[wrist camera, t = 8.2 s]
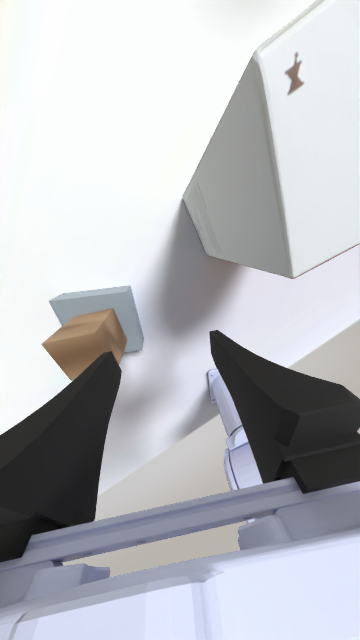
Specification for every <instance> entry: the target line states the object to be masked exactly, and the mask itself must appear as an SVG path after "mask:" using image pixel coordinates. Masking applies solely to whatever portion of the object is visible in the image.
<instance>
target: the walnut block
mask: <svg viewBox="0 0 360 640" xmlns="http://www.w3.org/2000/svg"><path fill="white" fill-rule="evenodd" d="M127 341H128V340H127V338H126V336H125V333H124V331H123V329H122V327H121V324H120V322H119V320H118V318H117V316H116V313H115V311H114V309H113V308H112V309H107V310H103V311H98V312H93V313H89V314H84V315H79V316H75V317H73V318H72V319H71V320H69V321H68V322H67V323H66V324H65V325H63V326H62V327H61V328H60V329H59V330H58V331H56V332H55V333H54V334H53V335H52V336H51V337H49V338H48V339H47V340H46V341H45V342H43V343H42V345H43V347H44V348H45V349H46V350H47V352H48V353H49V354H50V355H51V357H52V358H53V359H54V360H55V361H56V363H57V364H58V365H59V366H60V368H61V369H62V370H63V371H64V373H65V374H66V375H67V376H68V377H69V379H70V380H74V379H76V378H77V377H78V376H79V375H80V374H81V373H82V372H83V371H84V370H85V369H86V368H87V367H88V366H89V365H90V364H91V363H93V362H94V361H95V360H96V359H97V358H98V357H99V356H100V355H101V354H102V353H105V352H110V351H112V353H113V355H114V357H115V359H116V361H117V363H118V365H119V363H120V360H121V357H122V354H123V352H124V349H125V346H126V343H127Z"/></svg>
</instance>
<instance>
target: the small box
mask: <svg viewBox="0 0 360 640" xmlns="http://www.w3.org/2000/svg"><path fill="white" fill-rule="evenodd" d="M183 199H184V202H185V204H186V206H187V209H188V211H189V213H190V216H191V218H192V221H193V223H194V225H195V228H196V230H197V232H198V235H199V237H200V240H201V242H202V245H203V247H204V249H205V252H206V254H207V255H208V256H212V257H215V258H219V259H222V260H226V261H230V262H233V263H237V264H241V265H244V266H248V267H252V268H255V269H259V270H263V271H266V272H270V273H273V274H277V275H281V276H284V277H288V278H291V279H294V278H297V277H298V276H300V275H302V274H304V273H306V272H308V271H310V270H311V269H313V268H315V267H317V266H319V265H321V264H323V263H325V262H327V261H329V260H330V259H332V258H334V257H336V256H338V255H340V254H342V253H344V252H346V251H348V250H349V249H351V248H353V247H355V246H357V245H359V244H360V0H316V1H315V2H314V3H313V4H312V5H310V6H309V7H308V8H307V9H306V10H305V11H303V12H302V13H301V14H300V15H299V16H297V17H296V18H295V19H293V20H292V21H291V22H289V23H288V24H287V25H286V26H284V27H283V28H282V29H280V30H279V31H278V32H277V33H275V34H274V35H273V36H272V37H270V38H269V39H268V40H266V41H265V42H264V43H262V44H261V45H260V46H259V47H258V48H257V49H256V50H255V51H254V53H253V55H252V57H251V59H250V61H249V63H248V65H247V67H246V69H245V71H244V73H243V75H242V77H241V79H240V81H239V83H238V85H237V87H236V89H235V91H234V93H233V95H232V97H231V99H230V102H229V104H228V106H227V108H226V110H225V112H224V114H223V116H222V118H221V120H220V122H219V124H218V126H217V128H216V130H215V132H214V134H213V136H212V138H211V140H210V142H209V144H208V146H207V148H206V150H205V152H204V154H203V156H202V158H201V160H200V162H199V164H198V166H197V169H196V171H195V173H194V175H193V177H192V179H191V181H190V183H189V185H188V187H187V188H186V190H185V192H184V194H183Z"/></svg>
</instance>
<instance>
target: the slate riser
mask: <svg viewBox="0 0 360 640" xmlns="http://www.w3.org/2000/svg"><path fill="white" fill-rule="evenodd" d="M49 303H50V305H51V306H52V308H53V310H54V312H55V314H56V316H57V317H58V319H59V321H60V323H61V325H62V326H63V325H65V324H66V323H67V322H68V321H69V320H71V319H72V318H73V317H75V316H79V315H84V314H89V313H93V312H98V311H103V310H107V309H112V308H113V309H114V311H115V313H116V316H117V318H118V320H119V322H120V324H121V327H122V329H123V331H124V333H125V336H126V338H127V340H128V341H127V343H126V346H125V349H124V352H131V351H138V350H142V347H143V341H144V337H143V333H142V329H141V325H140V321H139V318H138V314H137V310H136V306H135V302H134V298H133V294H132V290H131V286H122V287H114V288H105V289H97V290H89V291H80V292H72V293H63V294H61V295H59V296H57V297H55V298H54V299H52V300H50V301H49ZM124 352H123V353H124Z"/></svg>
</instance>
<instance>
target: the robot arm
mask: <svg viewBox="0 0 360 640" xmlns="http://www.w3.org/2000/svg"><path fill="white" fill-rule="evenodd" d="M210 345H211V354H212V357H213V360H214V362H215V365H216V367H217V369H215V370H210V371H209V372H208V378H209V388H210V398H211V404H217V406H218V409H219V412H220V415H221V418H222V421H223V424H224V427H225V430H226V433H227V435H228V437H229V438H228V439H226V442H227V445H228V448H227V449H226V450H225V454H224V468H225V473H226V477H227V481H228V484H229V487H230V490H231V491H229V492H224V493H220V494H215V495H211V496H206V497H202V498H197V499H193V500H188V501H184V502H179V503H175V504H171V505H166V506H162V507H157V508H153V509H148V510H143V511H139V512H134V513H130V514H126V515H121V516H116V517H112V518H108V519H103V520H99V521H94V519H95V512H96V503H97V494H98V485H99V477H100V470H101V463H102V456H103V450H104V444H105V439H106V434H107V429H108V424H109V420H110V416H111V413H112V409H113V406H114V402H115V399H116V396H117V392H118V389H119V385H120V379H121V372H122V371H121V369H120V367H119V365H118V363H117V361H116V359H115V357H114V355H113V353H112V351H110V352H105V353H102V354H101V355H100V356H99V357H98V358H97V359H96V360H95V361H94V362H93V363H91V364H90V365H89V366H88V367H87V368H86V369H85V370H84V371H83V372H82V373H81V374H80V375H79V376H78V377H77V378H76V379H74V380H73V381H72V382H71V383H70V384H69V385H68V386H67V387H66V388H64V389H63V390H62V391H61V392H60V393H58V394H57V395H56V396H55V397H54V398H52V399H51V400H50V401H48V402H47V403H46V404H45V405H43V406H42V407H41V408H39V409H38V410H36V411H35V412H34V413H32V414H31V415H30V416H28V417H27V418H25V419H24V420H23V421H21V422H20V423H18V424H17V425H15V426H14V427H12V428H11V429H9V430H8V431H6V432H5V433H3V434H2V435H0V640H360V434H359V433H358V432H357V430H358V429H359V428H360V399H359V398H358V397H357V396H355V395H354V394H353V393H351V392H350V391H349V390H348V389H346V388H345V387H344V386H342V385H340V384H336V383H332V382H329V381H326V380H322V379H318V378H315V377H311V376H308V375H305V374H302V373H299V372H296V371H293V370H290V369H288V368H285V367H283V366H280V365H278V364H275V363H273V362H271V361H268V360H266V359H264V358H262V357H260V356H258V355H256V354H254V353H252V352H250V351H249V350H247V349H245V348H243V347H242V346H240V345H239V344H237V343H236V342H234V341H233V340H231V339H230V338H228V337H227V336H225V335H224V334H223V333H221V332H220V331H218V330H215V331H210ZM93 521H94V522H93ZM242 521H246V522H247V524H246V525H243V526H240V527H239V529H238V533H239V539H238V542H239V546H240V550H241V551H235V552H230V553H225V554H219V555H214V556H208V557H203V558H198V559H193V560H188V561H182V562H178V563H172V564H168V565H163V566H159V567H154V568H150V569H144V570H140V571H136V572H131V573H127V574H123V575H118V576H114V577H110V578H109V576H110V568H109V567H92V566H88V565H86V564H75V565H67V566H63V564H62V562H67V561H71V560H75V559H80V558H84V557H89V556H93V555H97V554H102V553H106V552H110V551H115V550H119V549H124V548H128V547H132V546H137V545H141V544H145V543H150V542H154V541H159V540H163V539H168V538H172V537H176V536H181V535H185V534H190V533H194V532H198V531H202V530H207V529H211V528H216V527H220V526H224V525H229V524H233V523H238V522H242Z"/></svg>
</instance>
